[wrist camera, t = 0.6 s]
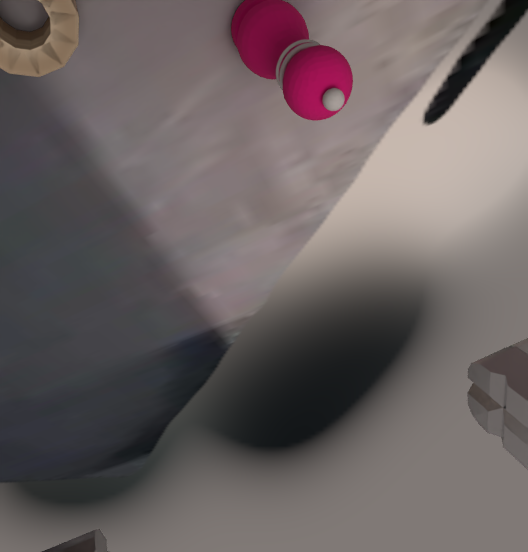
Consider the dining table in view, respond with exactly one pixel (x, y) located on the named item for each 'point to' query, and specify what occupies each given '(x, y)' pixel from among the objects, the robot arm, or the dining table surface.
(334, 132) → the dining table surface
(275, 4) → the pepper mill
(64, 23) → the bead
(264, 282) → the dining table surface
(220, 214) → the dining table surface
